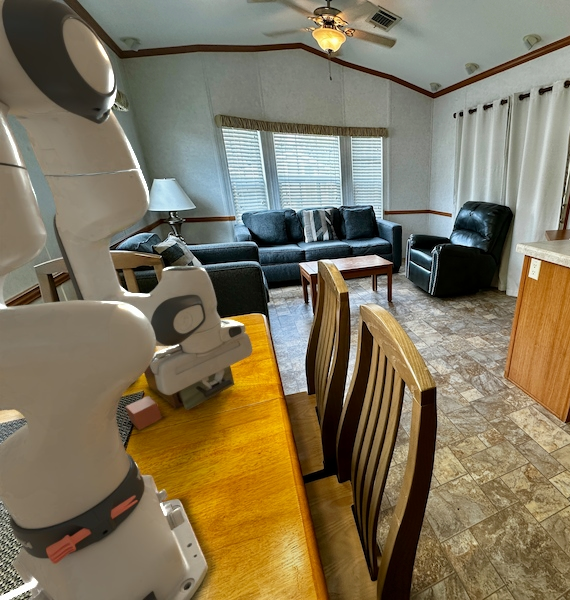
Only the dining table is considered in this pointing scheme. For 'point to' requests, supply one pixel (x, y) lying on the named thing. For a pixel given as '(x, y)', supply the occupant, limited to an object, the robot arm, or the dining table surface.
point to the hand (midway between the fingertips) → (214, 388)
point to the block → (143, 412)
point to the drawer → (204, 390)
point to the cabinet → (151, 382)
